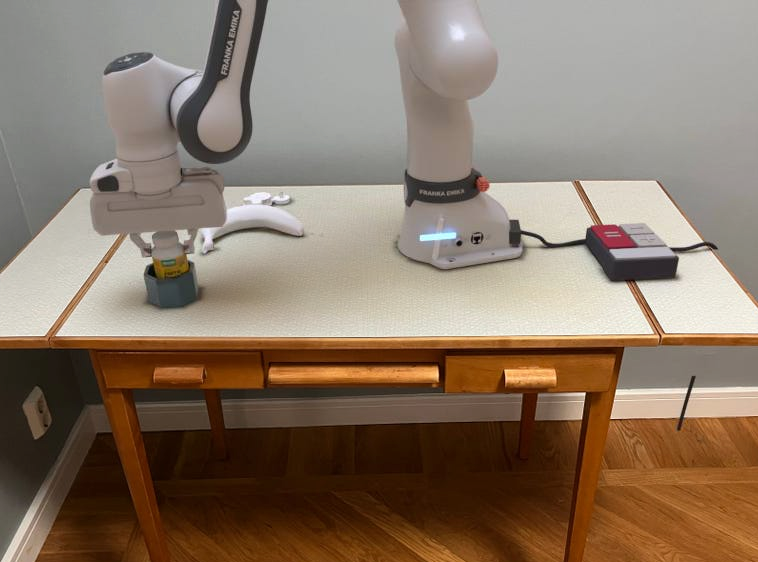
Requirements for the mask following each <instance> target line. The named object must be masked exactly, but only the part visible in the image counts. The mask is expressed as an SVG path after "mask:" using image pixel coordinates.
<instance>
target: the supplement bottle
mask: <svg viewBox="0 0 758 562" xmlns="http://www.w3.org/2000/svg"><path fill="white" fill-rule="evenodd" d="M151 240H152V245H153V247H152V251H151V255H152V257H151V260H152V263H153V264H154V268H155V272H156V277H157V279H167V278H176V277H178V276H180V275H183V274H185V273H187V272H189V266H188V260H189V259H188V256H187V255H188V254H185V253H184V248H183V243H182V242H180V239H179V234H178V231H177V230H172V231H159V232H153V233H152V235H151Z"/></svg>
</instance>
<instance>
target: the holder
mask: <svg viewBox="0 0 758 562" xmlns="http://www.w3.org/2000/svg"><path fill="white" fill-rule="evenodd" d="M187 260H188V266H189V272H187V273H185V274H183V275H180V276H178V277H176V278H167V279H157V277H156V272H155V268H154V264H153V262H151V263H149V264H147V265H146V266H145V269H144V271H143V280H144V284H145V290H146V293H147V299H148V302H149V303H150V304H152V305H154V306H156V307H159V308H160V309H166V308H167V309H169V308H181V307H184V306H185V305H188V304H190V303H193V301H196V300H198V296H199V291H200V287H199V281H198V275H197V270H196V269H197V268H196V264H195V262H194V261H192V260H189V259H187Z"/></svg>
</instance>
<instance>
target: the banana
mask: <svg viewBox="0 0 758 562" xmlns="http://www.w3.org/2000/svg"><path fill="white" fill-rule="evenodd" d="M226 209H227V220H226V222H225V224H224V225H223V226H222V227H214V228H200V229H198V232H199V235H200V236H201V237H202V238H203V239H204V242H203V243H202V248H201V251H202V253H203V254H206V253H207V252H209V251H215V248H214V242H213V240H214V239H217V238H220V237H221V236H222V237H223V236H224V235H226V234H229V233H232V232H235V231H239V230H243V229H250V228H252V229H253V228H269V229H272V230H276V231H279V232H283V233H284V234H289V235H290V236H291V235H292V236H295V237H299V236H300V237H301V236H303V235H304V226H303V224H302V223H301V221H300V220H299V219H298V218H297V217H296V216H294V215H293V214H291V213H289V212H288V211H286V210H283V209H280V208H278V207H276V206H272V205H271V206H267V205H244V206H243V205H238V206H234V207H230V208H226Z"/></svg>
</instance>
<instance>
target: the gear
mask: <svg viewBox="0 0 758 562" xmlns="http://www.w3.org/2000/svg"><path fill="white" fill-rule="evenodd" d="M242 201H243V203H242V206H244V205H267V206H272V205H273V203H274V204H276V205H287V204H290V201H291V200H290V196H289V195H287V194H284V192H283V191H278V195H275V196H274V197H273V198H272V195H271V194H270V193H269V192H264V191H263V192H262V191H260V192H259V191H258V192H254V193H252V194H251V195H249V196H245V197H243V198H242ZM233 203H234V204H235V202H233Z"/></svg>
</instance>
